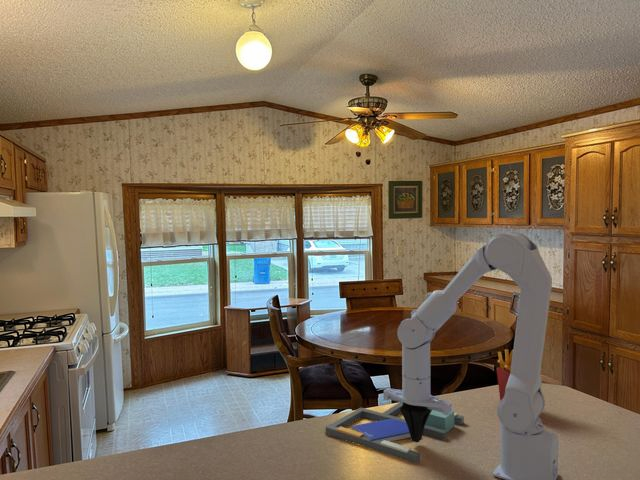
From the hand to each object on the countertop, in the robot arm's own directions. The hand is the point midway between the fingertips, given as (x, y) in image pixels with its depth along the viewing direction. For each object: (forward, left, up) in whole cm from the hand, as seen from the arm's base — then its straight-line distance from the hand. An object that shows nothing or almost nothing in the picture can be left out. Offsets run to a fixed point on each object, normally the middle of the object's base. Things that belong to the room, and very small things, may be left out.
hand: (416, 440), depth 99 cm
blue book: (+8, 0, -1) cm, 8 cm away
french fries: (-11, -33, -1) cm, 35 cm away
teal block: (0, -11, -1) cm, 11 cm away
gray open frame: (+7, 0, -1) cm, 7 cm away
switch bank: (+4, -11, -1) cm, 12 cm away
